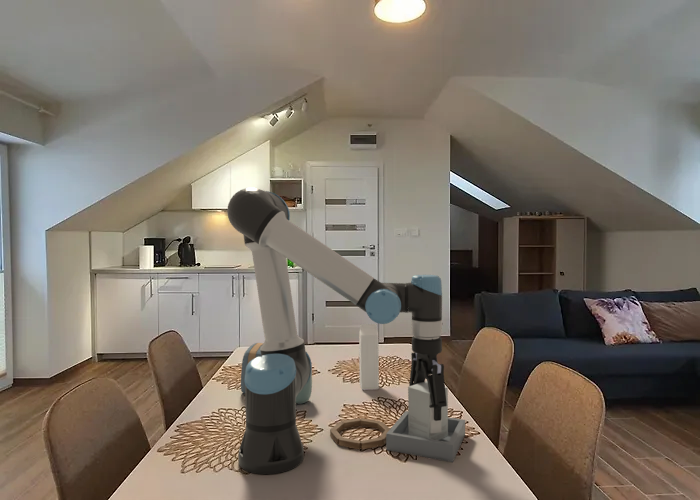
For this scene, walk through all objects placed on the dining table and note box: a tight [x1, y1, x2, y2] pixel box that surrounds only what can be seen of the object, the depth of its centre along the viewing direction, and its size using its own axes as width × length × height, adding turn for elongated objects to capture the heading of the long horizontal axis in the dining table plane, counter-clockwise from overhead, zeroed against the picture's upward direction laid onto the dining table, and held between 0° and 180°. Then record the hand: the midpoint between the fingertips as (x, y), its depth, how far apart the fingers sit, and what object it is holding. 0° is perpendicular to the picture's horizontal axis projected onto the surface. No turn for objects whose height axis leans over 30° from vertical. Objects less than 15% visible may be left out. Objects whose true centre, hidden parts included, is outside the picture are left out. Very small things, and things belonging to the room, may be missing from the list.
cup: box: [296, 371, 313, 405], centre depth 148 cm, size 8×8×10 cm
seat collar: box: [329, 417, 391, 450], centre depth 122 cm, size 15×15×2 cm
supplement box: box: [407, 380, 449, 440], centre depth 118 cm, size 7×7×13 cm
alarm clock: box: [240, 342, 264, 394], centre depth 162 cm, size 16×16×16 cm
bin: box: [385, 410, 466, 463], centre depth 118 cm, size 16×16×4 cm
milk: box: [358, 323, 380, 391], centre depth 161 cm, size 6×6×22 cm
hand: (426, 424), depth 118 cm, fingers closed on supplement box, 9 cm apart
